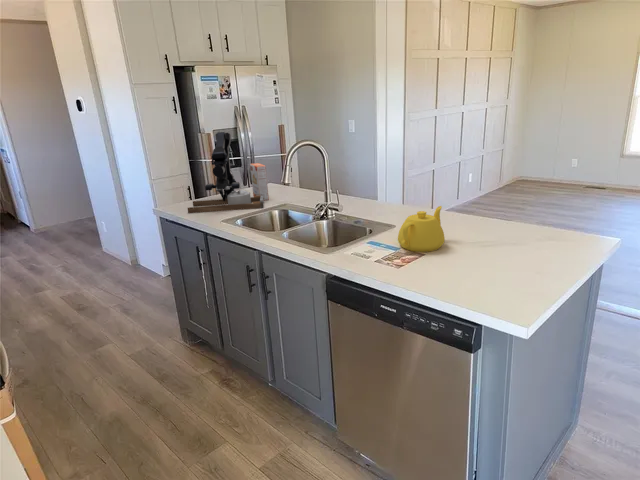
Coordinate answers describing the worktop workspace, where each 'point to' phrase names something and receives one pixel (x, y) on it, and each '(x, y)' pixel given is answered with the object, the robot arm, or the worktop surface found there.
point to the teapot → (422, 232)
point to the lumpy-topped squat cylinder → (239, 197)
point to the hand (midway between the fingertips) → (224, 201)
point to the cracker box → (259, 180)
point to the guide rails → (255, 203)
